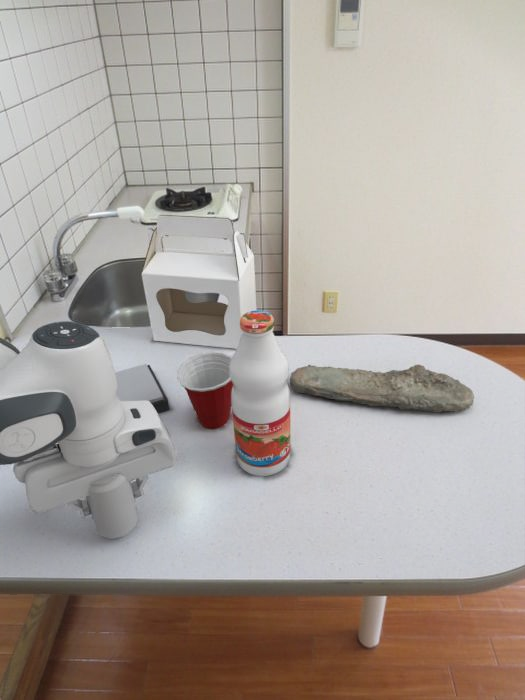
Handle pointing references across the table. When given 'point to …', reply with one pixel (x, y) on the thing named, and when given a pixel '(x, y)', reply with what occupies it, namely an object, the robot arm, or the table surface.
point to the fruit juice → (260, 397)
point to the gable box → (198, 283)
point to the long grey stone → (385, 387)
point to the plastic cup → (208, 387)
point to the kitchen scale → (141, 387)
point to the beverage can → (113, 506)
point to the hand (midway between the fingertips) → (112, 503)
